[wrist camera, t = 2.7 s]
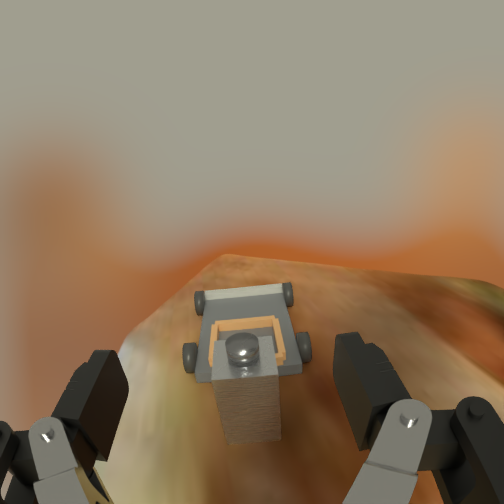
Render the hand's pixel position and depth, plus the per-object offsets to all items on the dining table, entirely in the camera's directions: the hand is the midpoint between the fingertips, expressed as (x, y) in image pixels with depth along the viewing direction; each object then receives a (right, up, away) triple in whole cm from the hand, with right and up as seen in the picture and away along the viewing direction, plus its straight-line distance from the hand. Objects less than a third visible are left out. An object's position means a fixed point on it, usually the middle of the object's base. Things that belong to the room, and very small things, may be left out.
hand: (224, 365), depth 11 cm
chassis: (0, -7, +32) cm, 32 cm away
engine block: (+1, -13, +17) cm, 21 cm away
